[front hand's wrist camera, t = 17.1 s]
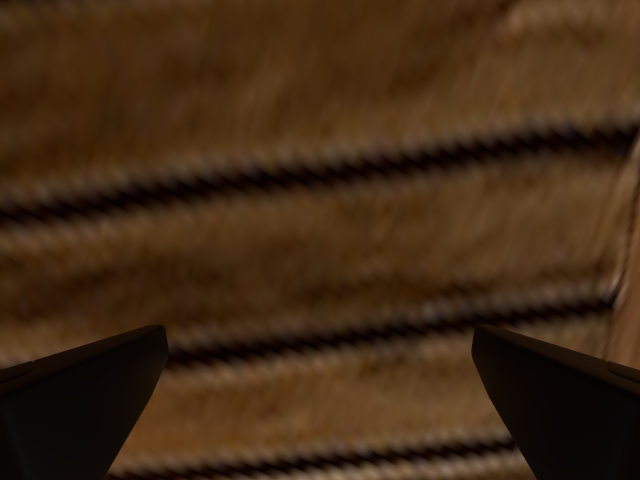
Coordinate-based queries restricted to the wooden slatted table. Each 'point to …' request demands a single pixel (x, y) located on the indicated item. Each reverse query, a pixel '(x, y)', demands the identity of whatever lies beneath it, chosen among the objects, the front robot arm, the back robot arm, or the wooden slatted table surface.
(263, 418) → the wooden slatted table surface
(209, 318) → the wooden slatted table surface
